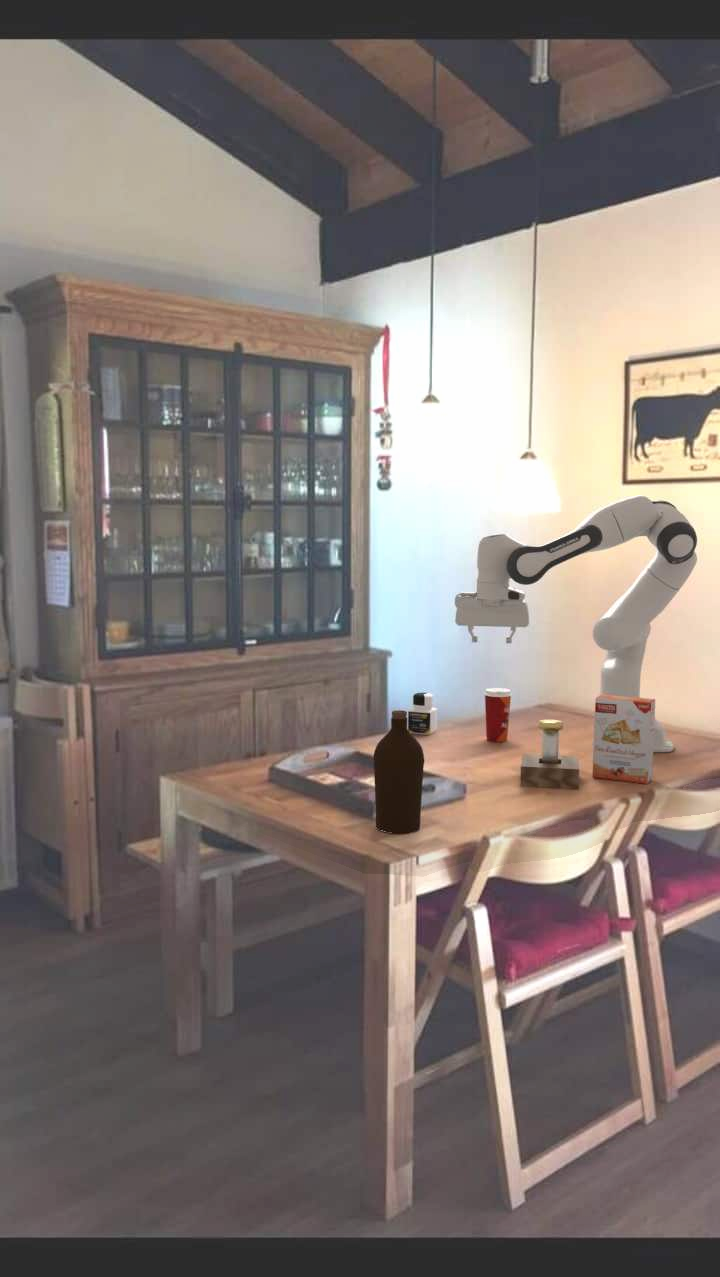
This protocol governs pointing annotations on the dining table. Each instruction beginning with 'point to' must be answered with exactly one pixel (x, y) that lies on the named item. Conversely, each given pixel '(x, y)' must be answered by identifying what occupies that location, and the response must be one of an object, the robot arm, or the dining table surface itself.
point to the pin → (550, 740)
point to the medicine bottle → (422, 715)
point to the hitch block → (550, 772)
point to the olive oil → (398, 778)
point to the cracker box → (623, 738)
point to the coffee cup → (497, 713)
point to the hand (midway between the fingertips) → (491, 642)
